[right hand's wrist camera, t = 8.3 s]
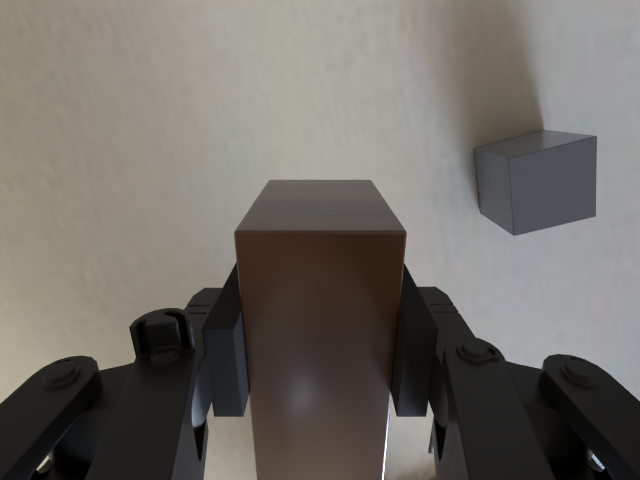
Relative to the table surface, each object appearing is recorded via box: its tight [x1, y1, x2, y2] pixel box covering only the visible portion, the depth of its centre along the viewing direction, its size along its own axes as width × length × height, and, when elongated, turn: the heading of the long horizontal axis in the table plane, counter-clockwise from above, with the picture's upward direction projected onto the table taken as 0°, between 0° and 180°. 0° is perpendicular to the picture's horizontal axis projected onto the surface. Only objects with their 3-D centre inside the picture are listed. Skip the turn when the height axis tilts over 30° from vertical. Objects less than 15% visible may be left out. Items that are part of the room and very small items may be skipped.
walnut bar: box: [234, 180, 407, 480], centre depth 15 cm, size 24×4×6 cm, turn 0°
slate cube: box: [474, 130, 597, 236], centre depth 23 cm, size 5×5×5 cm
